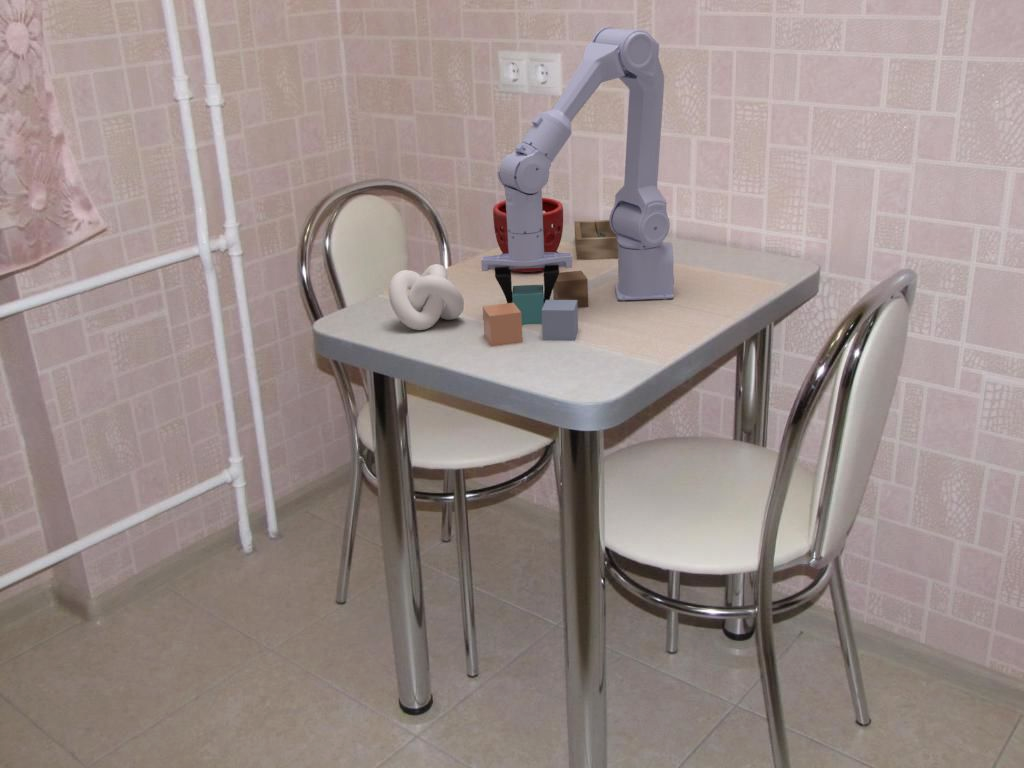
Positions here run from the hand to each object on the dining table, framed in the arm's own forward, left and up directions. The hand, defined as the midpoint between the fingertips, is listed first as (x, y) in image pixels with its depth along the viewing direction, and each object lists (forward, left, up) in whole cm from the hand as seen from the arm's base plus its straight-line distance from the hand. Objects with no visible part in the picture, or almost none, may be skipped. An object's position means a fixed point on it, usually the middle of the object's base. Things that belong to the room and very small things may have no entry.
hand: (528, 310), depth 174 cm
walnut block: (-7, -7, -2) cm, 10 cm away
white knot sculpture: (+16, 0, -2) cm, 16 cm away
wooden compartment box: (-16, -40, -1) cm, 43 cm away
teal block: (0, 0, -1) cm, 1 cm away
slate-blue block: (-5, +8, -2) cm, 10 cm away
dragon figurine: (-13, -40, -2) cm, 42 cm away
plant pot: (0, -30, -2) cm, 30 cm away
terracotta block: (+4, +9, -2) cm, 10 cm away
